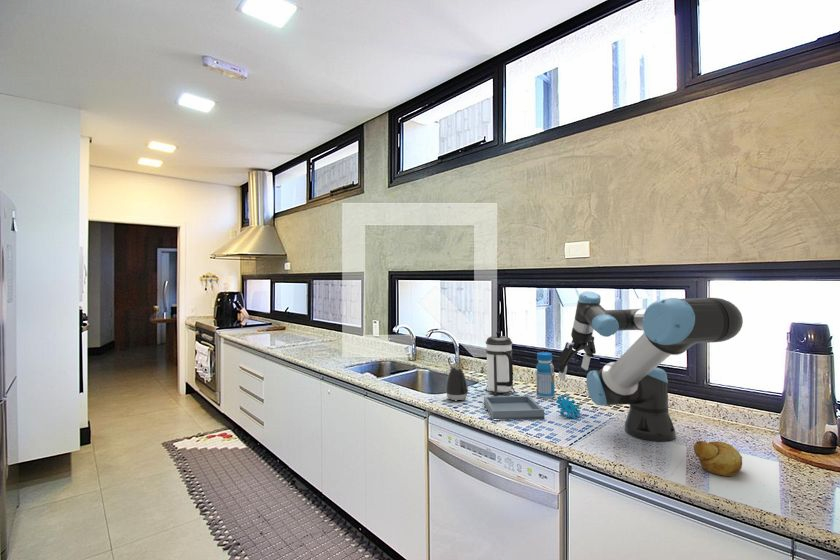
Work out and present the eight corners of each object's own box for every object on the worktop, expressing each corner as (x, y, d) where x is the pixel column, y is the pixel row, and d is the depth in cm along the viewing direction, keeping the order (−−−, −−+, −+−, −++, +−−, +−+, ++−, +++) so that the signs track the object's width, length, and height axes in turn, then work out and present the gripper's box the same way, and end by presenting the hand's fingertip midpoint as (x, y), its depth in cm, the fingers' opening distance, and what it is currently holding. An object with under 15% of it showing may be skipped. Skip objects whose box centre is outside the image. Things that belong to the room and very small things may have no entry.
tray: (544, 419, 152) (544, 409, 152) (493, 420, 152) (492, 411, 152) (529, 403, 172) (529, 395, 172) (484, 404, 172) (483, 396, 172)
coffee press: (478, 394, 188) (476, 332, 189) (492, 387, 201) (490, 328, 202) (512, 399, 178) (511, 334, 179) (525, 391, 191) (523, 330, 192)
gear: (565, 416, 149) (553, 393, 156) (556, 424, 153) (546, 401, 160) (587, 416, 153) (575, 394, 160) (578, 424, 157) (567, 401, 164)
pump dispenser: (462, 395, 187) (461, 363, 187) (471, 401, 177) (470, 367, 177) (442, 398, 184) (441, 365, 184) (451, 404, 174) (450, 369, 174)
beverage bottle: (541, 399, 178) (540, 355, 179) (533, 394, 187) (532, 352, 187) (558, 397, 180) (557, 354, 180) (549, 393, 188) (548, 351, 188)
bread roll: (711, 457, 116) (710, 430, 116) (752, 469, 108) (751, 440, 108) (691, 468, 109) (690, 440, 109) (733, 483, 101) (732, 452, 101)
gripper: (596, 317, 162) (586, 360, 170) (552, 332, 151) (544, 376, 159) (611, 326, 156) (600, 369, 164) (567, 342, 145) (558, 387, 153)
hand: (573, 373), depth 162 cm, fingers open, 13 cm apart
